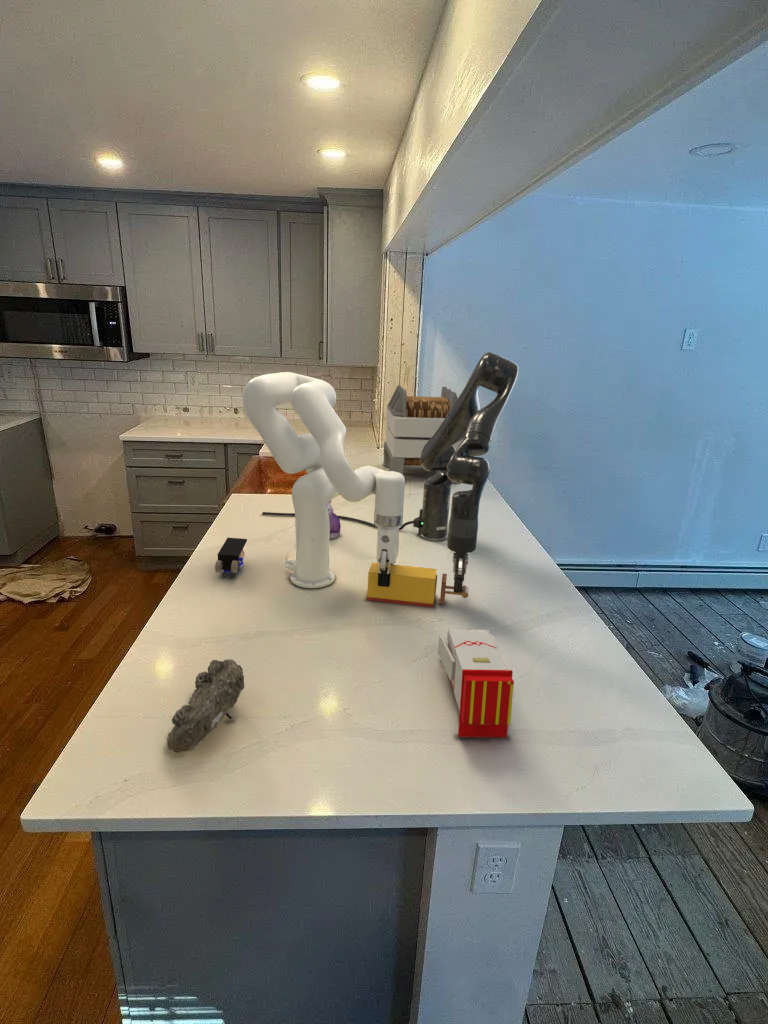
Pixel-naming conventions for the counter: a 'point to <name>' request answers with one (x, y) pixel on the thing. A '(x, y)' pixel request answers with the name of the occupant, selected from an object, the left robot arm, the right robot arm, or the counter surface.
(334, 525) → the figurine
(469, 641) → the toy
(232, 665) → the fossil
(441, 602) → the drawer
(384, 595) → the cabinet
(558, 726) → the counter surface
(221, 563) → the figurine character
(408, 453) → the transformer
